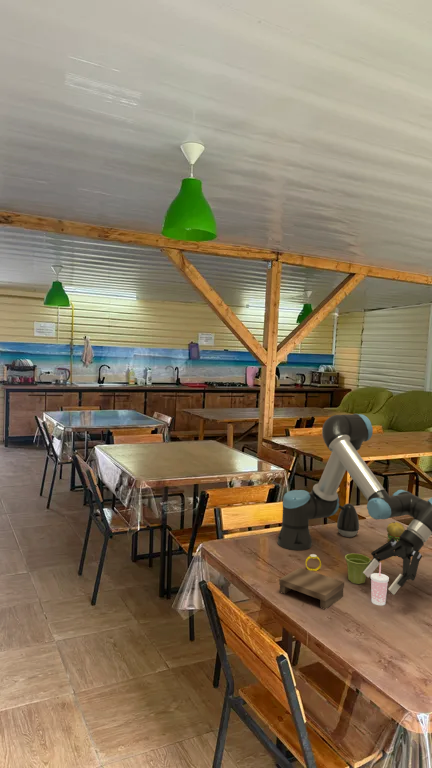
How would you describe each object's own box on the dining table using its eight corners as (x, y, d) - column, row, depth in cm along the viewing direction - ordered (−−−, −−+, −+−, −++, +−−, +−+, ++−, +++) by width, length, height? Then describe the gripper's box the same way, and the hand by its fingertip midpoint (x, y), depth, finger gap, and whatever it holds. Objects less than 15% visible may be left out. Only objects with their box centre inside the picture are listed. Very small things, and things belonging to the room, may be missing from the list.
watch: (306, 572, 201) (305, 557, 201) (305, 569, 204) (304, 554, 204) (321, 571, 201) (321, 556, 201) (320, 568, 204) (319, 553, 204)
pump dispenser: (333, 531, 248) (334, 500, 248) (354, 531, 249) (355, 500, 248) (340, 539, 238) (341, 506, 237) (361, 539, 239) (363, 506, 238)
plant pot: (370, 577, 197) (371, 555, 197) (369, 588, 188) (370, 564, 188) (345, 573, 200) (346, 551, 200) (342, 583, 191) (343, 560, 191)
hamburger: (405, 545, 232) (406, 519, 232) (401, 550, 226) (403, 523, 225) (388, 542, 236) (389, 516, 236) (383, 546, 230) (385, 520, 230)
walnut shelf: (278, 592, 182) (279, 579, 182) (299, 580, 193) (299, 567, 193) (324, 610, 171) (325, 595, 170) (343, 595, 181) (344, 581, 181)
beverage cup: (385, 608, 173) (387, 567, 172) (367, 603, 176) (369, 563, 176) (389, 601, 178) (391, 561, 178) (371, 596, 182) (373, 557, 181)
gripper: (447, 555, 170) (409, 606, 166) (397, 531, 193) (361, 574, 189) (436, 541, 168) (396, 592, 164) (386, 518, 191) (350, 562, 187)
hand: (377, 583), depth 176 cm, fingers open, 13 cm apart
